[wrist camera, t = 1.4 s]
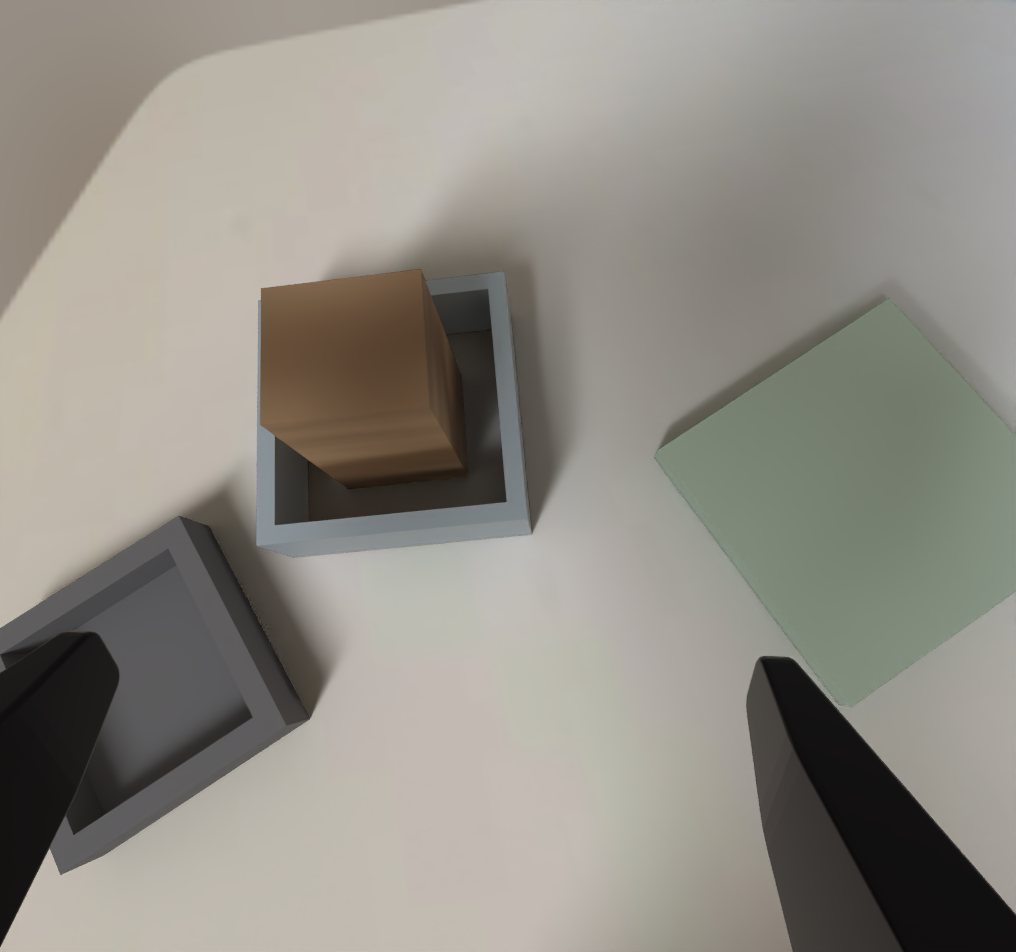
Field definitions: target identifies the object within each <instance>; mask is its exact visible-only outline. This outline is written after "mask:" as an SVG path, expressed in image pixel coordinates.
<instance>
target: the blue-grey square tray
mask: <svg viewBox="0 0 1016 952" xmlns="http://www.w3.org/2000/svg"><path fill="white" fill-rule="evenodd" d="M425 281H426V283H427V286H428V289H429V291H430V294H431V297H432V299H433V302H434V305H435V307H436V310H437V312H438V315H439V318H440V320H441V323H442V326H443V328H444V331H445V334H454V333H463V332H471V331H480V330H489V329H492V338H493V350H494V361H495V373H496V384H497V396H498V408H499V419H500V431H501V442H502V454H503V465H504V477H505V489H506V500H507V502H503V503H493V504H483V505H473V506H463V507H453V508H443V509H433V510H423V511H413V512H403V513H393V514H383V515H373V516H363V517H353V518H343V519H333V520H323V521H313V522H308V459H306V458H305V457H303V456H302V455H301V454H299V453H298V452H297V451H295V450H294V449H292V448H291V447H290V446H288V445H287V444H286V443H284V442H283V441H282V440H280V439H279V438H277V437H276V436H275V435H273V434H272V433H271V432H269V431H268V430H266V429H265V428H264V427H262V426H261V425H260V361H261V300H258V397H257V509H256V546H259V547H262V548H265V549H268V550H271V551H274V552H277V553H280V554H283V555H286V556H289V557H292V558H294V557H304V556H315V555H325V554H335V553H345V552H356V551H366V550H376V549H386V548H397V547H407V546H417V545H428V544H438V543H448V542H458V541H469V540H479V539H489V538H499V537H510V536H520V535H530V534H532V531H531V521H530V510H529V500H528V489H527V478H526V468H525V457H524V447H523V436H522V426H521V415H520V405H519V394H518V383H517V373H516V362H515V352H514V341H513V331H512V320H511V311H510V305H509V298H508V292H507V286H506V279H505V273H504V271H501V272H492V273H484V274H475V275H467V276H459V277H450V278H442V279H434V280H425Z"/></svg>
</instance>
